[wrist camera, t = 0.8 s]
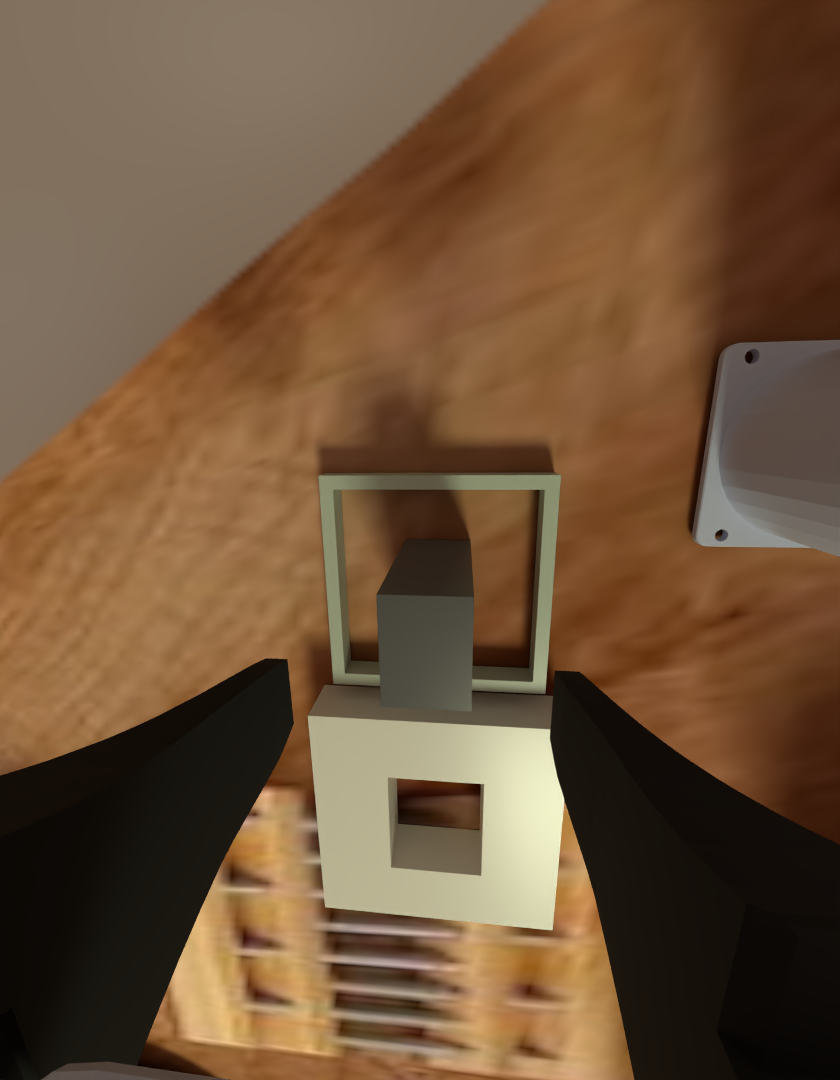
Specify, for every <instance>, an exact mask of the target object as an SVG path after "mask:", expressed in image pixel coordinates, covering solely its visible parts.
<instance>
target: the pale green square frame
mask: <svg viewBox="0 0 840 1080" xmlns="http://www.w3.org/2000/svg"><path fill="white" fill-rule="evenodd" d="M560 481H561V475H560V474H557V473H555V472H494V473H325V474H322V475H319V490H320V504H321V518H322V532H323V545H324V559H325V573H326V587H327V601H328V615H329V629H330V643H331V657H332V671H333V684H348V685H369V686H380V669H379V662H372V661H351V652H350V636H349V619H348V602H347V585H346V568H345V551H344V534H343V517H342V500H341V489H353V490H540V492H539V509H538V525H537V542H536V559H535V576H534V593H533V610H532V627H531V644H530V661H529V668H514V667H490V666H472V691H493V692H514V693H535V694H545V692H546V678H547V664H548V650H549V636H550V621H551V607H552V593H553V579H554V565H555V551H556V537H557V523H558V509H559V495H560Z"/></svg>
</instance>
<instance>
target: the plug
mask: <svg viewBox="0 0 840 1080" xmlns="http://www.w3.org/2000/svg"><path fill="white" fill-rule="evenodd" d="M473 616H474V591H473V575H472V559H471V543H470V540H444V539H406V540H405V542H404V544H403V546H402V548H401V550H400V552H399V553H398V555H397V557H396V559H395V561H394V563H393V565H392V567H391V568H390V570H389V572H388V574H387V576H386V578H385V580H384V581H383V583H382V585H381V587H380V589H379V591H378V593H377V620H378V645H379V669H380V694H381V707H397V708H415V709H434V710H452V711H471V710H472V663H473Z"/></svg>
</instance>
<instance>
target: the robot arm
mask: <svg viewBox="0 0 840 1080" xmlns="http://www.w3.org/2000/svg"><path fill="white" fill-rule="evenodd" d="M748 351H750V352H751V353H752V354H753V359H752V361H751V363H747V362H746V361H745V355H746V353H747V352H748ZM721 529H722V531H723V534H722V536H721V537H720V538H718V539H715V534H716V532H717V531H718V530H721ZM692 538H693V539H694V541H695V542H696V543H698V544H700V545H702V546H719V547H792V548H815V549H818V550H821V551H824V552H827V553H830V554H833V555H836V556H839V557H840V340H815V341H783V342H751V343H737V344H733V345H730V346H728V347H727V348H725V349H724V350H723V351H722V353H721V354H720V357H719V361H718V368H717V374H716V381H715V388H714V394H713V401H712V407H711V414H710V420H709V427H708V433H707V440H706V446H705V453H704V459H703V466H702V472H701V479H700V485H699V492H698V498H697V505H696V511H695V518H694V524H693V531H692ZM293 724H294V721H293V711H292V701H291V691H290V681H289V671H288V662H287V659H267V658H266V659H264V660H262V661H259V662H257V663H255V664H253V665H251V666H250V667H248V668H246V669H244V670H242V671H240V672H239V673H237V674H235V675H233V676H232V677H230V678H228V679H226V680H224V681H223V682H221V683H219V684H217V685H216V686H214V687H212V688H210V689H208V690H207V691H205V692H203V693H201V694H199V695H198V696H196V697H194V698H192V699H190V700H188V701H186V702H184V703H182V704H180V705H178V706H176V707H174V708H173V709H171V710H169V711H167V712H165V713H163V714H161V715H159V716H157V717H155V718H153V719H151V720H149V721H146V722H144V723H142V724H140V725H138V726H135V727H133V728H131V729H129V730H126V731H124V732H122V733H119V734H117V735H115V736H112V737H110V738H107V739H105V740H103V741H100V742H97V743H95V744H92V745H89V746H86V747H84V748H81V749H78V750H76V751H73V752H70V753H68V754H65V755H62V756H59V757H57V758H54V759H51V760H48V761H45V762H42V763H39V764H36V765H33V766H30V767H27V768H24V769H21V770H17V771H14V772H11V773H7V774H4V775H1V776H0V1080H229V1079H222V1078H215V1077H209V1076H202V1075H195V1074H188V1073H181V1072H174V1071H168V1070H161V1069H154V1068H147V1067H140V1066H137V1064H138V1062H139V1059H140V1056H141V1054H142V1051H143V1048H144V1046H145V1043H146V1041H147V1038H148V1035H149V1033H150V1030H151V1028H152V1025H153V1023H154V1020H155V1018H156V1015H157V1013H158V1010H159V1008H160V1005H161V1003H162V1000H163V998H164V995H165V993H166V990H167V988H168V985H169V983H170V980H171V978H172V975H173V973H174V970H175V968H176V966H177V963H178V961H179V958H180V956H181V954H182V951H183V949H184V947H185V944H186V942H187V940H188V937H189V935H190V933H191V930H192V928H193V926H194V923H195V921H196V919H197V916H198V914H199V912H200V909H201V907H202V905H203V903H204V901H205V898H206V896H207V894H208V892H209V890H210V887H211V885H212V883H213V881H214V879H215V877H216V874H217V872H218V870H219V868H220V866H221V863H222V861H223V859H224V857H225V855H226V854H227V852H228V850H229V848H230V846H231V844H232V842H233V840H234V838H235V837H236V835H237V833H238V831H239V830H240V828H241V826H242V824H243V823H244V821H245V819H246V817H247V816H248V814H249V812H250V810H251V809H252V807H253V805H254V803H255V802H256V800H257V798H258V796H259V795H260V793H261V791H262V789H263V787H264V786H265V784H266V782H267V780H268V779H269V777H270V775H271V773H272V771H273V770H274V768H275V766H276V764H277V762H278V760H279V759H280V756H281V754H282V752H283V749H284V747H285V744H286V742H287V739H288V737H289V734H290V732H291V729H292V727H293ZM550 742H551V748H552V753H553V758H554V763H555V768H556V773H557V778H558V781H559V784H560V787H561V790H562V794H563V797H564V800H565V803H566V806H567V809H568V812H569V815H570V819H571V822H572V825H573V828H574V831H575V834H576V837H577V840H578V843H579V846H580V849H581V852H582V855H583V859H584V862H585V865H586V868H587V871H588V874H589V878H590V881H591V885H592V888H593V892H594V895H595V899H596V904H597V908H598V912H599V917H600V921H601V925H602V930H603V934H604V938H605V943H606V947H607V951H608V956H609V961H610V965H611V970H612V974H613V979H614V984H615V988H616V993H617V997H618V1002H619V1006H620V1011H621V1016H622V1021H623V1025H624V1030H625V1035H626V1040H627V1045H628V1050H629V1055H630V1060H631V1065H632V1070H633V1075H634V1079H635V1080H840V845H839V844H837V843H835V842H832V841H830V840H828V839H826V838H824V837H822V836H820V835H818V834H816V833H814V832H812V831H810V830H808V829H806V828H804V827H802V826H800V825H798V824H796V823H794V822H792V821H791V820H789V819H787V818H785V817H783V816H781V815H779V814H777V813H775V812H774V811H772V810H770V809H768V808H767V807H765V806H763V805H761V804H759V803H758V802H756V801H754V800H752V799H751V798H749V797H747V796H745V795H744V794H742V793H740V792H738V791H737V790H735V789H733V788H732V787H730V786H728V785H727V784H725V783H723V782H722V781H720V780H718V779H717V778H715V777H714V776H712V775H711V774H709V773H708V772H706V771H705V770H703V769H702V768H700V767H699V766H697V765H695V764H694V763H692V762H691V761H689V760H688V759H686V758H685V757H684V756H682V755H681V754H679V753H678V752H676V751H675V750H674V749H672V748H671V747H670V746H668V745H667V744H666V743H664V742H663V741H662V740H660V739H659V738H658V737H656V736H655V735H654V734H652V733H651V732H650V731H648V730H647V729H646V728H645V727H643V726H642V725H641V724H640V723H638V722H637V721H636V720H635V719H634V718H632V717H631V716H630V715H629V714H627V713H626V712H625V711H624V710H623V709H622V708H620V707H619V706H618V705H617V704H616V703H615V702H613V701H612V700H611V699H610V698H609V697H608V696H607V695H605V694H604V693H603V692H602V691H601V690H600V689H599V688H598V687H596V686H595V685H594V684H593V683H592V682H591V681H590V680H589V679H587V678H586V677H585V676H584V675H583V674H581V673H580V672H573V671H555V676H554V689H553V702H552V715H551V728H550Z"/></svg>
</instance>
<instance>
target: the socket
mask: <svg viewBox="0 0 840 1080" xmlns="http://www.w3.org/2000/svg"><path fill="white" fill-rule="evenodd" d="M552 702H553V696H543V695H523V694H502V693H481V692H472V710H471V711H452V710H434V709H415V708H397V707H381V694H380V688H379V687H358V686H337V685H324V687H323V689H322V691H321V693H320V694H319V696H318V698H317V700H316V702H315V704H314V705H313V707H312V709H311V711H310V713H309V715H308V723H309V734H310V745H311V756H312V767H313V778H314V789H315V800H316V811H317V822H318V833H319V844H320V855H321V866H322V877H323V888H324V899H325V907H329V908H339V909H349V910H359V911H368V912H378V913H388V914H398V915H407V916H417V917H427V918H437V919H446V920H456V921H466V922H476V923H485V924H495V925H505V926H515V927H524V928H534V929H544V930H553V919H554V908H555V896H556V885H557V874H558V863H559V852H560V841H561V830H562V819H563V808H564V797H563V794H562V790H561V787H560V784H559V781H558V778H557V773H556V768H555V763H554V758H553V753H552V748H551V742H550V728H551V715H552ZM397 778H402V779H417V780H431V781H445V782H460V783H474V784H481V792H480V826H479V830H469V829H457V828H445V827H432V826H420V825H407V824H398V801H397Z"/></svg>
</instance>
